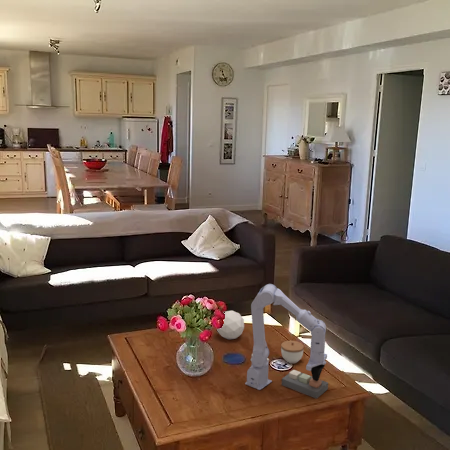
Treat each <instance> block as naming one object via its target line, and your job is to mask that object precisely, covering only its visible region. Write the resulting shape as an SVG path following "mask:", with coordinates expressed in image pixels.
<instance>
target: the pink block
mask: <svg viewBox="0 0 450 450" xmlns="http://www.w3.org/2000/svg"><path fill="white" fill-rule="evenodd" d="M322 381H323V379H320V378H319V380H318V381H315V380H313V378H312V379H311V380H309V385H310V386H312V387H315V388H319V387H320V386H321V384H322Z"/></svg>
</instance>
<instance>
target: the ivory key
mask: <svg viewBox="0 0 450 450" xmlns="http://www.w3.org/2000/svg"><path fill="white" fill-rule="evenodd" d="M301 373H302V372H301V371H300V370H299V371H298V370H296V369H292V370H291V371H289V372H288V374H289V378H291V379H294V380H298V379H299V376H301Z"/></svg>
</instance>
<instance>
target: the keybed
mask: <svg viewBox="0 0 450 450" xmlns="http://www.w3.org/2000/svg"><path fill="white" fill-rule="evenodd" d="M302 374H303V372H301V375H302ZM311 379H312V376H311ZM281 386H282V387H285V388H288V389H290V390H293V391H296V392H298V393H301V394H303V395H306V396H309V397H312V398H313V399H318V398H319V397H321V395H323V394H324V393H325V392H327V391H328V390H329V389H328V388H329V382H327V381H325V380H322V384H321V386H320V387H319V388H315V387H312V386H310V385H309V383H308V384H305V383H302V382H299V379H298V380H294V379H291V378H289V373H287V374H286V375H285V376H283V377H282V378H281Z"/></svg>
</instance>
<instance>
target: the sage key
mask: <svg viewBox="0 0 450 450" xmlns="http://www.w3.org/2000/svg"><path fill="white" fill-rule="evenodd" d="M302 373H303V372H302ZM311 377H312V375H308V374H307V373H303V374H302V375H301V376H299V382H302V383H305V384H308V383H309V380H311Z"/></svg>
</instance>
